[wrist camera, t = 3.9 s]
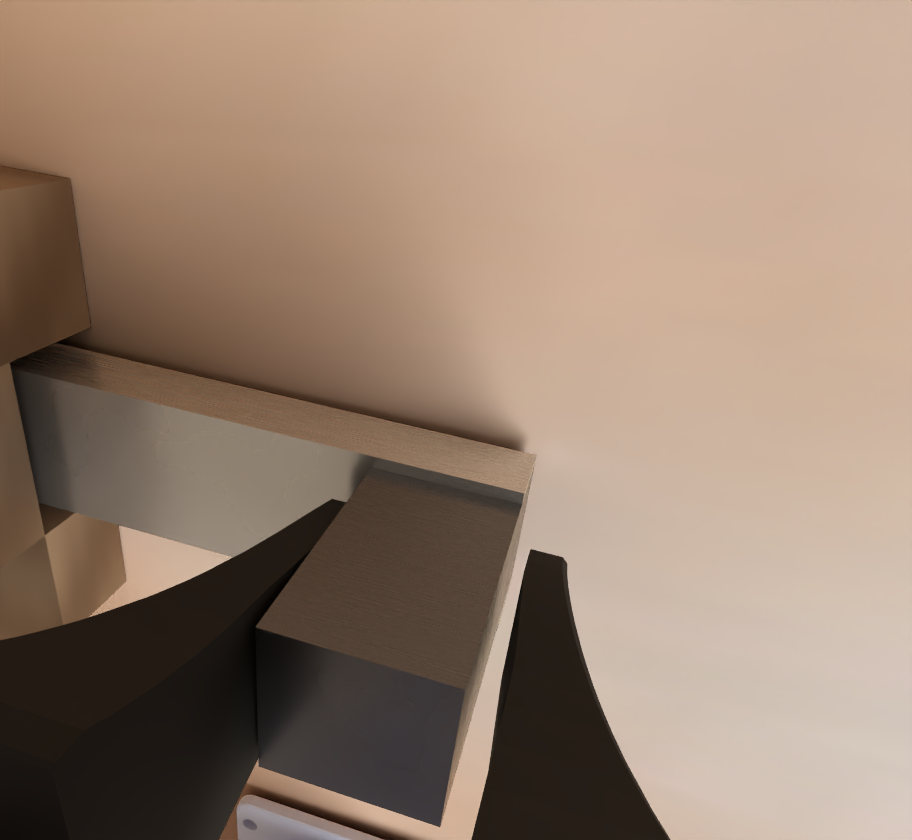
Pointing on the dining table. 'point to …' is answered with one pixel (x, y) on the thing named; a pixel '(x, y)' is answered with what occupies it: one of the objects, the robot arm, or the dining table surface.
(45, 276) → the bearing block
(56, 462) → the grey l-shaped bar
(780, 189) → the dining table surface
